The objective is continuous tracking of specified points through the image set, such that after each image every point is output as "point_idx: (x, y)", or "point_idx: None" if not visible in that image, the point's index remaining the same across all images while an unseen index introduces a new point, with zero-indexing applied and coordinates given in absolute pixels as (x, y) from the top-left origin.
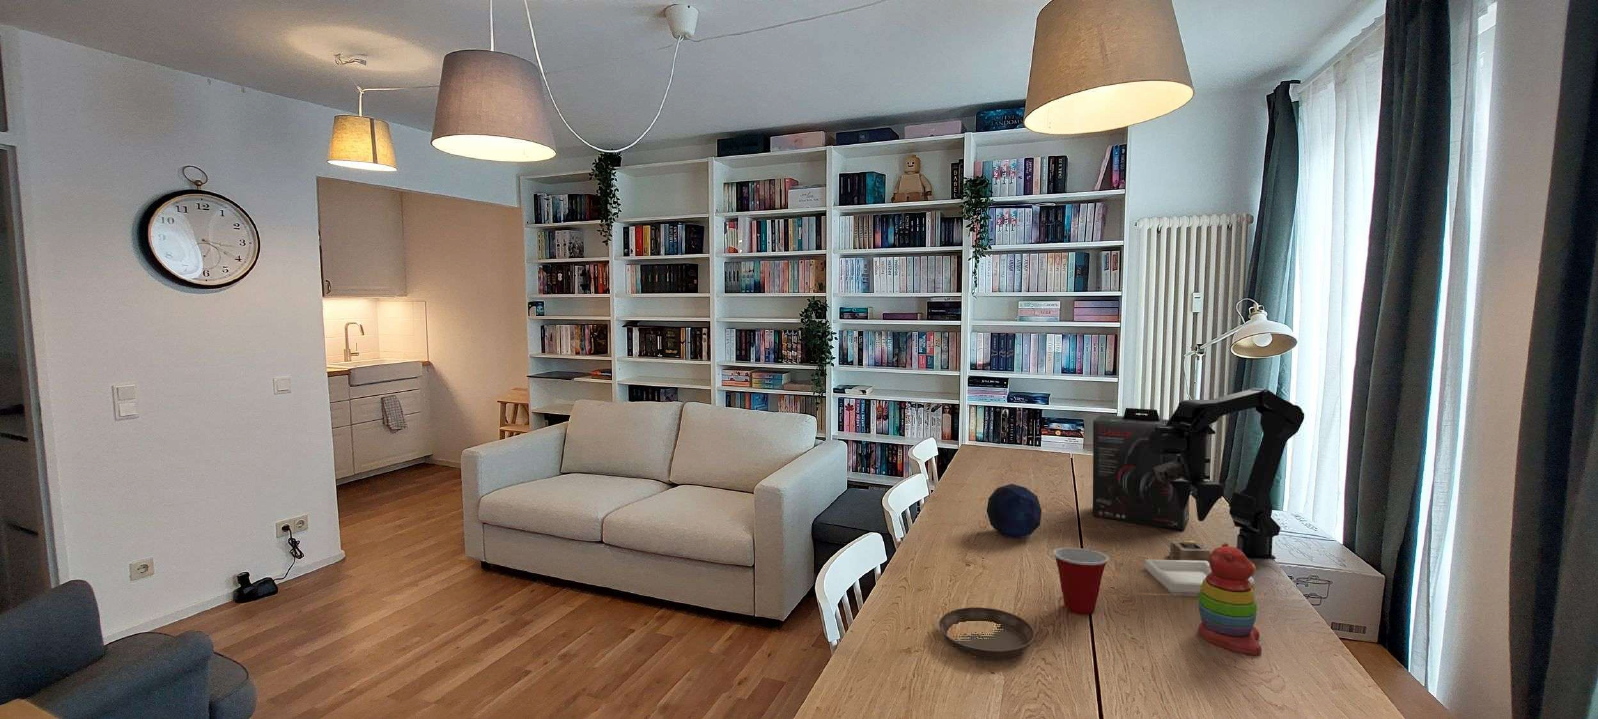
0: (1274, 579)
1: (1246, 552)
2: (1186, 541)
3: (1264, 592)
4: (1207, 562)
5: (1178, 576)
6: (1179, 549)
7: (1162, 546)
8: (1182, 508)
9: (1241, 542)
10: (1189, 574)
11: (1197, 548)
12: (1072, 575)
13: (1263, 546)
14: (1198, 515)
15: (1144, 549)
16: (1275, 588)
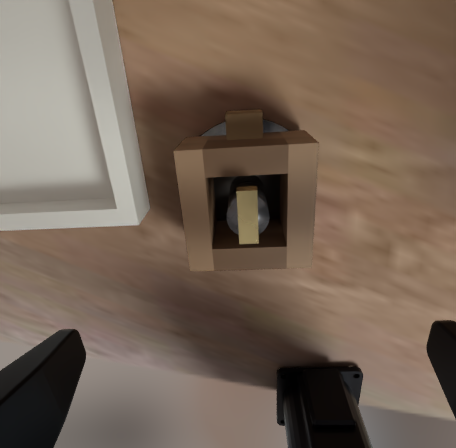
0: (124, 358)
1: (298, 380)
2: (248, 205)
3: (9, 297)
4: (119, 220)
5: (11, 55)
6: (209, 147)
7: (424, 139)
8: (433, 337)
9: (317, 401)
10: (54, 117)
11: None
12: None
13: (286, 435)
14: (9, 364)
15: (393, 24)
16: None
